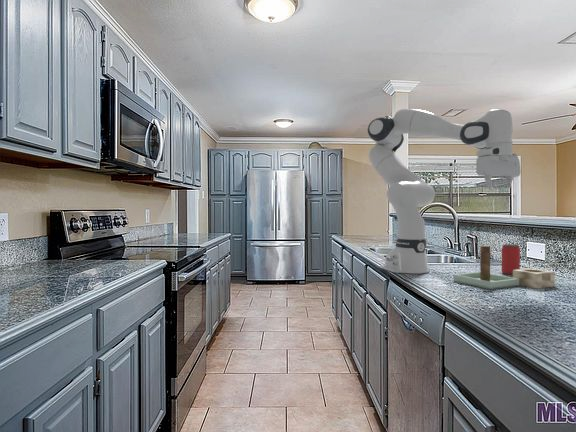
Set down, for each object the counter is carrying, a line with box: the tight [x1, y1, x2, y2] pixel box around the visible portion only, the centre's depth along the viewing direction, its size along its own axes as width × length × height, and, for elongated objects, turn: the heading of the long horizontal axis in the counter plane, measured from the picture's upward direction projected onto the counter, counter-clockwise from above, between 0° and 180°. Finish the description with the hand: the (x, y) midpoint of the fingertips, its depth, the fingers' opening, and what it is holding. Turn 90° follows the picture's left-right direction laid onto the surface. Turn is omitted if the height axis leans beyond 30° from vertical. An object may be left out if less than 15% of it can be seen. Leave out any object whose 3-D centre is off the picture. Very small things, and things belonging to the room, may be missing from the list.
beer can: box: [501, 243, 521, 276], centre depth 158 cm, size 7×7×12 cm
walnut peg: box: [479, 245, 491, 281], centre depth 138 cm, size 3×3×13 cm
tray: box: [453, 271, 520, 290], centre depth 138 cm, size 16×14×2 cm
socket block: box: [512, 267, 556, 289], centre depth 135 cm, size 9×9×5 cm
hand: (498, 188), depth 146 cm, fingers open, 8 cm apart
